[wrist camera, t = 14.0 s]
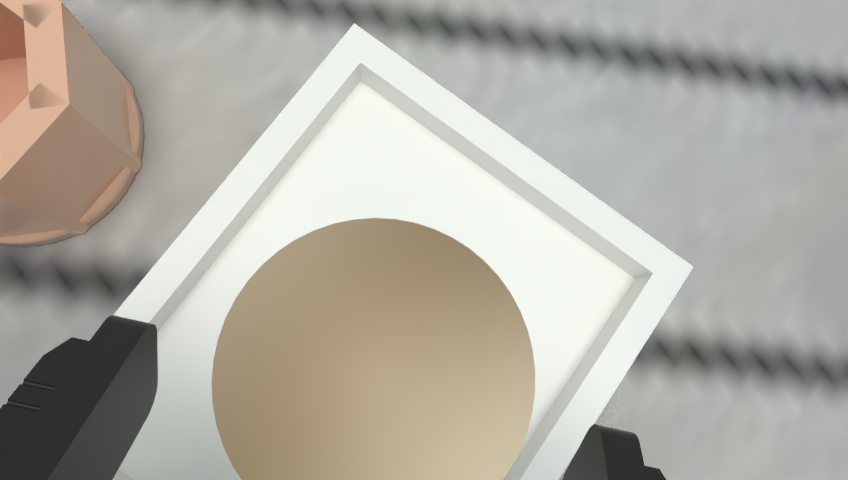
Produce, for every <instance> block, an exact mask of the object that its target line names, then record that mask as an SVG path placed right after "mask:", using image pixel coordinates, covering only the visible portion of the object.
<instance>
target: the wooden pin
mask: <svg viewBox="0 0 848 480" xmlns="http://www.w3.org/2000/svg"><path fill="white" fill-rule="evenodd" d="M534 396H535V365H534V356H533V349H532V345H531V341H530V337H529V333H528V329H527V327H526V324H525V322H524V319H523V316H522V314H521V311H520V309H519V307H518V306H517V304H516V302H515V300H514V298H513V296H512V294H511V293H510V291H509V290H508V289H507V287H506V286H505V284H504V283H503V282H502V280H501V279H500V277H499V276H498V275H497V274H496V273H495V272H494V271H493V270H492V268H491V267H490V266H489V265H488V264H487V263H486V262H485V261H484V260H483V259H481V258H480V257H479V256H478V255H477V254H475V253H474V252H473V251H472V250H471V249H469V248H468V247H466V246H465V245H463V244H462V243H460V242H459V241H457V240H455V239H454V238H452V237H450V236H448V235H446V234H444V233H442V232H439V231H437V230H435V229H433V228H430V227H426V226H423V225H420V224H417V223H414V222H408V221H403V220H397V219H385V218H367V219H354V220H349V221H344V222H339V223H334V224H331V225H328V226H325V227H322V228H319V229H317V230H314V231H312V232H310V233H308V234H306V235H304V236H302V237H300V238H298V239H296V240H294V241H292V242H291V243H289V244H288V245H286V246H285V247H283V248H282V249H280V250H279V251H278V252H276V253H275V254H274V255H273V256H272V257H271V258H269V259H268V260H267V261H266V262H265V263H264V264H263V265H261V267H260V268H259V269H258V270H257V271H256V272H255V273H254V274H253V276H252V277H251V278H250V279H249V280H248V281H247V283H246V284H245V285H244V287H243V288H242V290H241V291H240V293H239V294H238V296H237V297H236V299H235V300H234V302H233V304H232V306H231V308H230V310H229V312H228V314H227V316H226V318H225V321H224V324H223V326H222V329H221V332H220V335H219V337H218V341H217V346H216V351H215V355H214V360H213V371H212V403H213V409H214V415H215V420H216V426H217V429H218V432H219V435H220V438H221V441H222V444H223V447H224V449H225V451H226V453H227V456H228V458H229V460H230V462H231V464H232V466H233V468H234V469H235V471H236V472H237V474H238V475H239V477H240V478H241V480H503V478H504V477H505V476H506V475H507V473H508V471H509V470H510V468H511V466H512V464H513V463H514V461H515V459H516V457H517V456H518V454H519V451H520V449H521V447H522V444H523V442H524V439H525V437H526V434H527V431H528V427H529V423H530V420H531V416H532V411H533V404H534Z"/></svg>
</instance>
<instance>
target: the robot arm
mask: <svg viewBox="0 0 848 480" xmlns="http://www.w3.org/2000/svg"><path fill="white" fill-rule="evenodd" d="M157 386H158V351H157V328H156V325H154V324H150V323H146V322H141V321H137V320H133V319H128V318H124V317H119V316H115V315H112V316H110V317H108V318H107V319H106V320H105V321H104V322H103V324H102V325H101V327H100V328H99V329H98V331H97V332H96V333H95V335H94V336H93V337H92V339H91V340H90V341H86V340H81V339H77V338H70V339H69V340H67V341H66V342H64V343H62V344H61V345H59V346H58V347H56V348H55V349H53V350H51V351H50V352H48V353H47V354H45V355H43V357H42V358H41V359H40V360H39V362H38V363H37V364H36V365H35V366H34V368H33V369H32V370H31V371H30V373H29V374H28V375H27V376H26V378H25V379H24V382H23V384H22V385H21V384H20V385H19V386H18V388H17V389H16V390H15V391H14V393H13V394H12V395H11V396H10V398H9V399H8V402H7V404H6V405H3V406H2V407H1V409H0V480H113V478H114V476H115V474H116V473H117V471H118V469H119V467H120V465H121V464H122V462H123V460H124V458H125V457H126V455H127V453H128V451H129V449H130V448H131V446H132V444H133V442H134V440H135V439H136V437H137V435H138V433H139V432H140V430H141V428H142V426H143V424H144V423H145V421H146V419H147V417H148V415H149V413H150V411H151V408H152V406H153V403H154V400H155V396H156V392H157ZM563 480H666V479H665V477H664V476H663V474H662V473H661V471H660V469H657V468H652V467H647V466H644V462H643V457H642V452H641V448H640V443H639V440H638V437H637V436H636V434H634V433H631V432H627V431H622V430H618V429H613V428H609V427H604V426H600V425H596V424H594V425H592V426H591V427H590V428H589V430H588V431H587V433H586V435H585V437H584V439H583V441H582V443H581V444H580V446H579V448H578V450H577V452H576V454H575V456H574V457H573V459H572V461H571V463H570V465H569V467H568V469H567V470H566V472H565V474H564V477H563Z"/></svg>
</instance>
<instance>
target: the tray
mask: <svg viewBox="0 0 848 480" xmlns="http://www.w3.org/2000/svg"><path fill="white" fill-rule="evenodd" d="M367 218H385V219H397V220H403V221H408V222H414V223H417V224H420V225H423V226H426V227H430V228H433V229H435V230H437V231H439V232H442V233H444V234H446V235H448V236H450V237H452V238H454V239H455V240H457V241H459V242H460V243H462V244H463V245H465V246H466V247H468V248H469V249H471V250H472V251H473V252H474V253H475V254H477V255H478V256H479V257H480V258H481V259H483V260H484V261H485V262H486V263H487V264H488V265H489V266H490V267H491V268H492V270H493V271H494V272H495V273H496V274H497V275H498V276H499V277H500V279H501V280H502V282H503V283H504V284H505V286H506V287H507V289H508V290H509V291H510V293H511V294H512V296H513V298H514V300H515V302H516V304H517V306H518V307H519V309H520V311H521V314H522V316H523V319H524V322H525V324H526V327H527V329H528V333H529V337H530V341H531V345H532V349H533V356H534V365H535V396H534V404H533V411H532V416H531V420H530V423H529V427H528V431H527V434H526V437H525V439H524V442H523V444H522V447H521V449H520V451H519V454H518V456H517V457H516V459H515V461H514V463H513V464H512V466H511V468H510V470H509V471H508V473H507V475H506V476H505V477H504V478H503V480H559V478H560V477H561V475H562V474H563V472H564V470H565V469H566V467H567V466H568V464H569V462H570V461H571V459H572V458H573V456H574V455H575V453H576V451H577V450H578V448H579V446H580V444H581V443H582V441H583V439H584V437H585V435H586V433H587V431H588V430H589V428H590V427H591V426H592V425H594V423H595V421H596V420H597V418H598V417H599V415H600V414H601V412H602V410H603V409H604V407H605V406H606V404H607V403H608V401H609V399H610V398H611V396H612V395H613V393H614V392H615V390H616V388H617V387H618V385H619V384H620V382H621V380H622V379H623V377H624V376H625V374H626V373H627V371H628V369H629V368H630V366H631V365H632V363H633V362H634V360H635V358H636V357H637V355H638V354H639V352H640V351H641V349H642V347H643V346H644V344H645V343H646V341H647V339H648V338H649V336H650V335H651V333H652V332H653V330H654V328H655V327H656V325H657V324H658V322H659V321H660V319H661V317H662V316H663V314H664V313H665V311H666V310H667V308H668V306H669V305H670V303H671V302H672V300H673V298H674V297H675V295H676V294H677V292H678V291H679V289H680V287H681V286H682V284H683V283H684V281H685V280H686V278H687V276H688V275H689V273H690V272H691V270H692V269H693V266H691V265H690V264H689V263H687V262H686V261H684V260H683V259H682V258H680V257H679V256H677V255H676V254H675V253H673V252H672V251H670V250H669V249H668V248H666V247H665V246H663V245H662V244H661V243H659V242H658V241H657V240H655V239H654V238H652V237H651V236H650V235H648V234H647V233H645V232H644V231H643V230H641V229H640V228H638V227H637V226H636V225H634V224H633V223H631V222H630V221H629V220H627V219H626V218H624V217H623V216H622V215H620V214H619V213H618V212H616V211H615V210H613V209H612V208H611V207H609V206H608V205H606V204H605V203H604V202H602V201H601V200H599V199H598V198H597V197H595V196H594V195H592V194H591V193H590V192H588V191H587V190H585V189H584V188H583V187H581V186H580V185H579V184H577V183H576V182H574V181H573V180H572V179H570V178H569V177H567V176H566V175H565V174H563V173H562V172H560V171H559V170H558V169H556V168H555V167H553V166H552V165H551V164H549V163H548V162H546V161H545V160H544V159H542V158H541V157H540V156H538V155H537V154H535V153H534V152H533V151H531V150H530V149H528V148H527V147H526V146H524V145H523V144H521V143H520V142H519V141H517V140H516V139H514V138H513V137H512V136H510V135H509V134H507V133H506V132H505V131H503V130H502V129H501V128H499V127H498V126H496V125H495V124H494V123H492V122H491V121H489V120H488V119H487V118H485V117H484V116H482V115H481V114H480V113H478V112H477V111H475V110H474V109H473V108H471V107H470V106H468V105H467V104H466V103H464V102H463V101H462V100H460V99H459V98H457V97H456V96H455V95H453V94H452V93H450V92H449V91H448V90H446V89H445V88H443V87H442V86H441V85H439V84H438V83H436V82H435V81H434V80H432V79H431V78H429V77H428V76H427V75H425V74H424V73H423V72H421V71H420V70H418V69H417V68H416V67H414V66H413V65H411V64H410V63H409V62H407V61H406V60H404V59H403V58H402V57H400V56H399V55H397V54H396V53H395V52H393V51H392V50H390V49H389V48H388V47H386V46H385V45H384V44H382V43H381V42H379V41H378V40H377V39H375V38H374V37H372V36H371V35H370V34H368V33H367V32H365V31H364V30H363V29H361V28H360V27H358V26H357V25H356V24H354V25H353V26H352V27H351V28H350V29H349V31H348V32H347V33H346V34H345V35H344V37H343V38H342V39H341V40H340V41H339V43H338V44H337V45H336V46H335V47H334V49H333V50H332V51H331V52H330V54H329V55H328V56H327V57H326V58H325V60H324V61H323V62H322V63H321V64H320V66H319V67H318V68H317V69H316V70H315V72H314V73H313V74H312V75H311V77H310V78H309V79H308V80H307V81H306V83H305V84H304V85H303V86H302V87H301V89H300V90H299V91H298V92H297V93H296V95H295V96H294V97H293V98H292V99H291V101H290V102H289V103H288V104H287V106H286V107H285V108H284V109H283V110H282V112H281V113H280V114H279V115H278V116H277V118H276V119H275V120H274V121H273V122H272V124H271V125H270V126H269V127H268V128H267V130H266V131H265V132H264V133H263V135H262V136H261V137H260V138H259V139H258V141H257V142H256V143H255V144H254V145H253V147H252V148H251V149H250V150H249V151H248V153H247V154H246V155H245V156H244V157H243V159H242V160H241V161H240V162H239V164H238V165H237V166H236V167H235V168H234V170H233V171H232V172H231V173H230V174H229V176H228V177H227V178H226V179H225V180H224V182H223V183H222V184H221V185H220V186H219V188H218V189H217V190H216V191H215V193H214V194H213V195H212V196H211V197H210V199H209V200H208V201H207V202H206V203H205V205H204V206H203V207H202V208H201V209H200V211H199V212H198V213H197V214H196V215H195V217H194V218H193V219H192V220H191V222H190V223H189V224H188V225H187V226H186V228H185V229H184V230H183V231H182V232H181V234H180V235H179V236H178V237H177V238H176V240H175V241H174V242H173V243H172V245H171V246H170V247H169V248H168V249H167V251H166V252H165V253H164V254H163V255H162V257H161V258H160V259H159V260H158V261H157V263H156V264H155V265H154V266H153V267H152V269H151V270H150V271H149V272H148V274H147V275H146V276H145V277H144V278H143V280H142V281H141V282H140V283H139V284H138V286H137V287H136V288H135V289H134V290H133V292H132V293H131V294H130V295H129V296H128V298H127V299H126V300H125V301H124V303H123V304H122V305H121V306H120V307H119V309H118V310H117V311H116V312H115V313H114V315H115V316H119V317H124V318H128V319H133V320H137V321H141V322H146V323H150V324H154V325H156V328H157V351H158V386H157V392H156V396H155V400H154V403H153V406H152V408H151V411H150V413H149V415H148V417H147V419H146V421H145V423H144V424H143V426H142V428H141V430H140V432H139V433H138V435H137V437H136V439H135V440H134V442H133V444H132V446H131V448H130V449H129V451H128V453H127V455H126V457H125V458H124V460H123V462H122V464H121V465H120V467H119V469H118V471H117V473H116V474H115V476H114V478H113V480H241V478H240V477H239V475H238V474H237V472H236V471H235V469H234V468H233V466H232V464H231V462H230V460H229V458H228V456H227V453H226V451H225V449H224V447H223V444H222V441H221V438H220V435H219V432H218V429H217V426H216V420H215V415H214V409H213V403H212V371H213V360H214V355H215V351H216V346H217V341H218V337H219V335H220V332H221V329H222V326H223V324H224V321H225V318H226V316H227V314H228V312H229V310H230V308H231V306H232V304H233V302H234V300H235V299H236V297H237V296H238V294H239V293H240V291H241V290H242V288H243V287H244V285H245V284H246V283H247V281H248V280H249V279H250V278H251V277H252V276H253V274H254V273H255V272H256V271H257V270H258V269H259V268H260V267H261V265H263V264H264V263H265V262H266V261H267V260H268V259H269V258H271V257H272V256H273V255H274V254H275V253H276V252H278V251H279V250H280V249H282V248H283V247H285V246H286V245H288V244H289V243H291V242H292V241H294V240H296V239H298V238H300V237H302V236H304V235H306V234H308V233H310V232H312V231H314V230H317V229H319V228H322V227H325V226H328V225H331V224H334V223H339V222H344V221H349V220H354V219H367Z"/></svg>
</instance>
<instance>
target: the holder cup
mask: <svg viewBox="0 0 848 480" xmlns="http://www.w3.org/2000/svg"><path fill="white" fill-rule="evenodd" d="M143 144H144V126H143V120H142V114H141V111H140V108H139V105H138V102H137V99H136V97H135V93H134V87H133V86H132V85H131V84H130V83H129V81H128V80H127V79H126V78H125V77H124V75H123V74H122V73H121V72H120V71H119V70H118V68H117V67H116V66H115V65H114V64H113V62H112V61H111V60H110V59H109V58H108V57H107V55H106V54H105V53H104V52H103V51H102V49H101V48H100V47H99V46H98V45H97V43H96V42H95V41H94V40H93V39H92V38H91V36H90V35H89V34H88V33H87V32H86V30H85V29H84V28H83V27H82V26H81V25H80V23H79V22H78V21H77V20H76V19H75V17H74V16H73V15H72V14H71V13H70V12H69V10H68V9H67V8H66V7H65V6H64V4H63V3H62V2H61V1H59V0H0V245H7V246H22V247H26V246H39V245H45V244H50V243H55V242H58V241H61V240H64V239H67V238H70V237H72V236H74V235H78V234H85V233H86V231H87V230H88V229H89V228H90V227H91V226H93V225H94V224H96V223H97V222H98V221H100V220H101V219H102V218H103V217H105V216H106V215H107V214H108V213H109V212H110V211H111V210H112V209H113V208H114V207H115V206H116V205H117V204H118V203H119V201H120V200H121V199H122V197H123V196H124V195H125V193H126V192H127V191H128V189H129V187H130V185H131V184H132V182H133V180H134V178H135V175H136V173H137V172H138V171H139V170H140V169H141V168H142V165H141V157H142V153H143Z"/></svg>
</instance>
